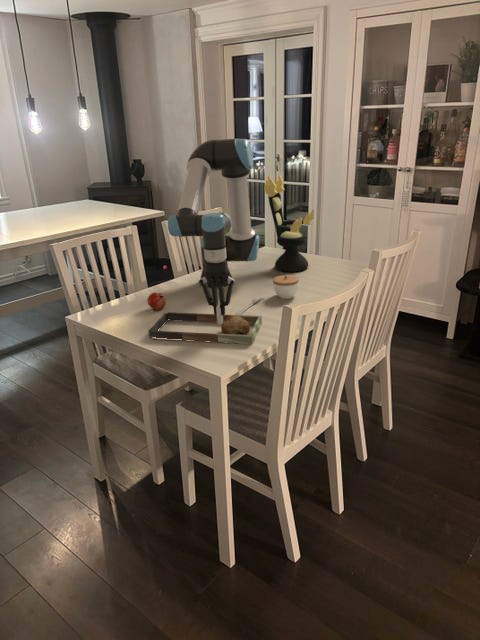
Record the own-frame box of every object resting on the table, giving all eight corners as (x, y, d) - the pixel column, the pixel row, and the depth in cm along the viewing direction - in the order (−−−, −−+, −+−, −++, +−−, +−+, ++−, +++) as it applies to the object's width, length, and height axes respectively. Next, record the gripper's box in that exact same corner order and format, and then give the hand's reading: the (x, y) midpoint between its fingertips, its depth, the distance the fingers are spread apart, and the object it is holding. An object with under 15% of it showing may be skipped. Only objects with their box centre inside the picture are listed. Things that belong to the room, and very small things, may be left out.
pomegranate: (146, 316, 198) (157, 306, 191) (140, 300, 199) (150, 290, 192) (161, 312, 203) (172, 302, 196) (155, 297, 204) (165, 286, 197)
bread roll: (227, 348, 170) (230, 333, 165) (215, 328, 176) (217, 312, 170) (251, 340, 175) (255, 326, 169) (238, 321, 180) (242, 306, 175)
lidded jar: (297, 301, 198) (297, 279, 195) (271, 300, 201) (271, 279, 197) (299, 292, 208) (299, 271, 204) (275, 291, 210) (274, 271, 206)
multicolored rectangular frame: (166, 319, 188) (165, 312, 187) (261, 323, 180) (261, 315, 178) (148, 339, 172) (147, 331, 171) (252, 344, 164) (251, 336, 162)
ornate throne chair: (302, 275, 229) (302, 177, 211) (259, 271, 238) (255, 177, 220) (314, 264, 244) (314, 172, 226) (273, 260, 253) (271, 172, 235)
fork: (234, 320, 190) (233, 314, 189) (260, 298, 205) (259, 292, 204) (240, 322, 189) (239, 315, 187) (266, 299, 203) (265, 293, 202)
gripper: (194, 262, 162) (200, 326, 171) (231, 263, 159) (235, 328, 168) (200, 256, 169) (206, 318, 178) (236, 257, 166) (240, 319, 175)
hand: (220, 322), depth 173 cm, fingers closed
